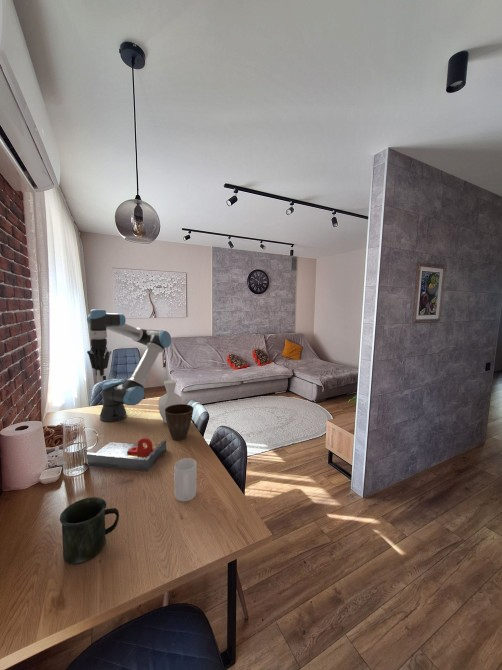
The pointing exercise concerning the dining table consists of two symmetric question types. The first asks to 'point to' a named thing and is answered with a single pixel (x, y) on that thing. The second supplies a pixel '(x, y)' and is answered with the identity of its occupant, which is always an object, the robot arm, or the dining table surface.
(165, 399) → the vase
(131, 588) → the dining table surface
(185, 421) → the plant pot
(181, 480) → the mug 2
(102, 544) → the mug
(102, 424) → the dining table surface
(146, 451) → the bracket
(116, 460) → the tray
